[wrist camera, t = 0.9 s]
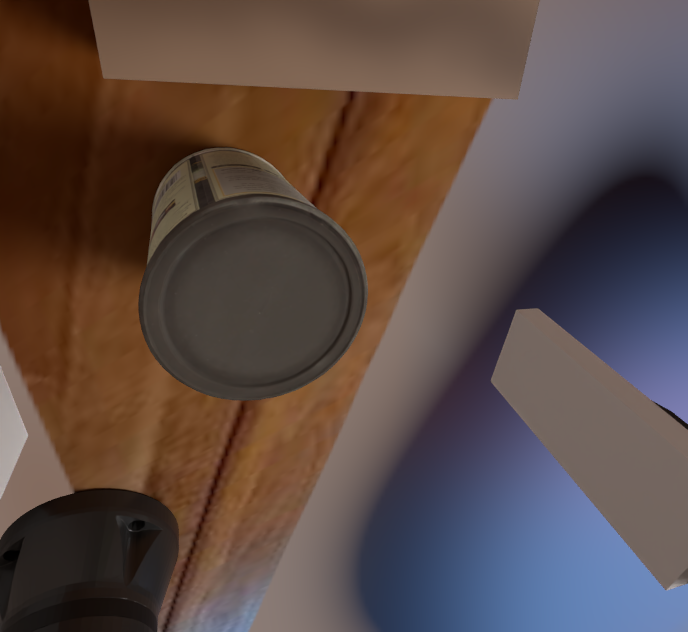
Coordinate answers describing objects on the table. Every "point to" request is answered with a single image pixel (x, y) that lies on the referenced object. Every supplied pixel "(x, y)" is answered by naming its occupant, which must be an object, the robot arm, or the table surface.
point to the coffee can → (246, 280)
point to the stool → (321, 44)
